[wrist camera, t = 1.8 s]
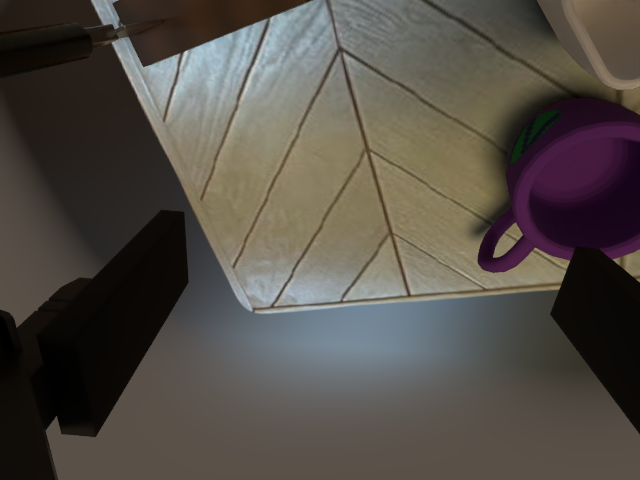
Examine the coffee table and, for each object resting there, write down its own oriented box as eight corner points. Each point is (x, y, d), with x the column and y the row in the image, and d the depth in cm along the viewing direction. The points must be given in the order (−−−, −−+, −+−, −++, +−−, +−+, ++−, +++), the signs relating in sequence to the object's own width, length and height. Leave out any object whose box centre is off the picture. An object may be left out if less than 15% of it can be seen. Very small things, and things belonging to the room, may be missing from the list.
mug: (570, 60, 36) (607, 87, 28) (673, 138, 37) (737, 187, 29) (434, 206, 46) (431, 259, 37) (518, 265, 47) (533, 328, 39)
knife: (135, 49, 43) (-115, 111, 24) (121, 21, 41) (-153, 63, 22) (167, 35, 41) (-72, 90, 22) (154, 6, 40) (-110, 37, 21)
